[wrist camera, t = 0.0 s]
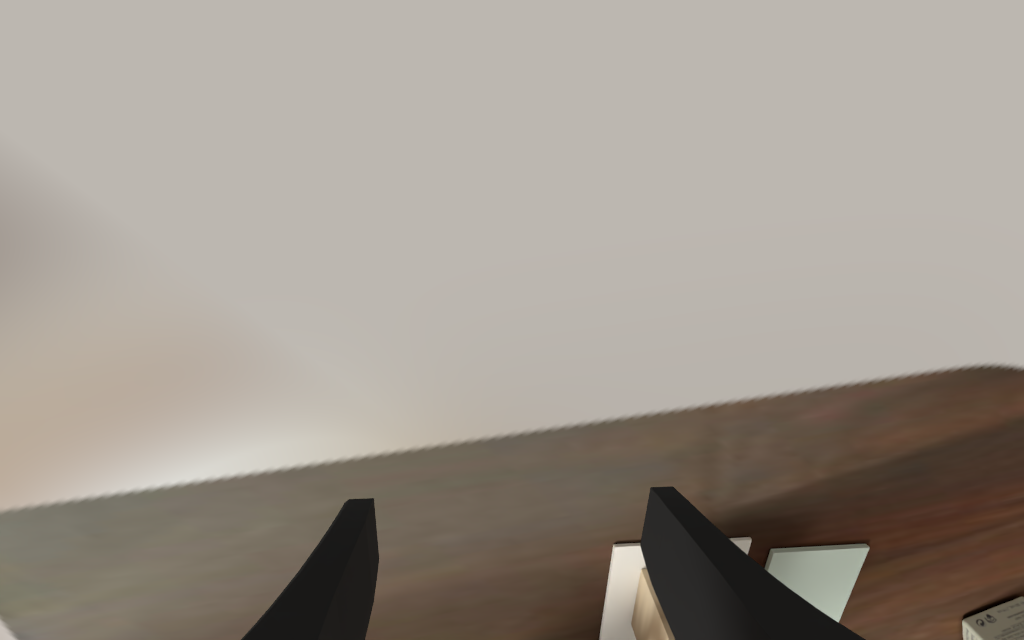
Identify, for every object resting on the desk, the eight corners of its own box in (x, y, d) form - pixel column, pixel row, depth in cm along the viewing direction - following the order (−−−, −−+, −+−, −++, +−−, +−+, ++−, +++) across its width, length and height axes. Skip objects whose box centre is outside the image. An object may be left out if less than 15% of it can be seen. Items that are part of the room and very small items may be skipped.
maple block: (702, 619, 30) (746, 709, 26) (631, 624, 30) (662, 717, 25) (716, 564, 29) (766, 651, 24) (641, 569, 28) (676, 658, 23)
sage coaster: (828, 635, 32) (831, 639, 32) (741, 641, 32) (743, 646, 32) (865, 543, 29) (869, 547, 29) (770, 548, 29) (773, 553, 29)
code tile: (722, 632, 31) (724, 636, 31) (598, 641, 30) (599, 645, 30) (750, 537, 28) (752, 540, 28) (613, 544, 27) (614, 547, 27)
